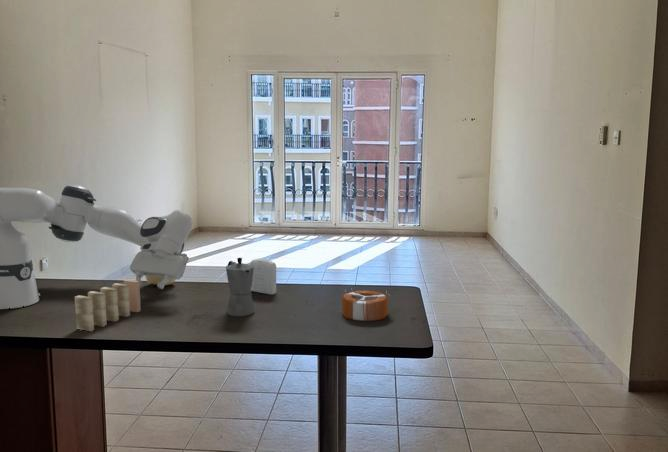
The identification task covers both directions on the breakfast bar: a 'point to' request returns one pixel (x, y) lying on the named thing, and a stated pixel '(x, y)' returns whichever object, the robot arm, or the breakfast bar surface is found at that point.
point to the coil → (364, 305)
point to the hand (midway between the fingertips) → (148, 286)
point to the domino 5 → (133, 295)
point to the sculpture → (157, 280)
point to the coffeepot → (240, 288)
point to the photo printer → (264, 276)
